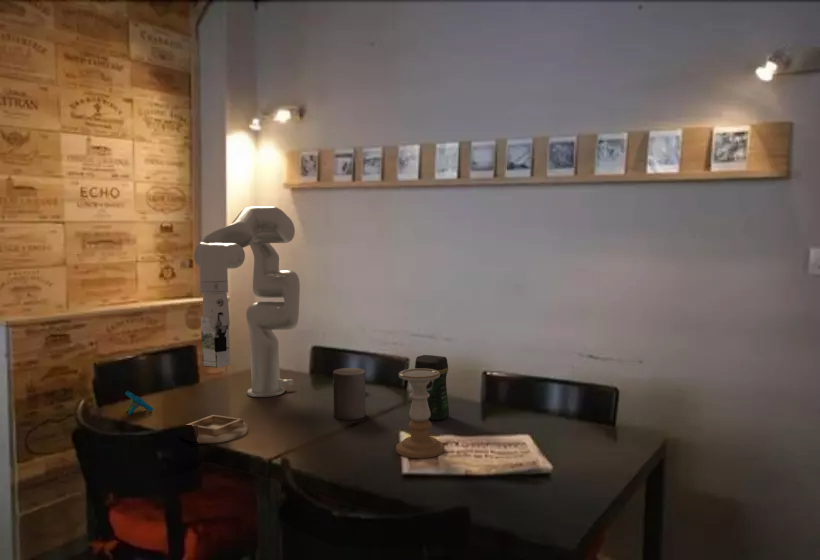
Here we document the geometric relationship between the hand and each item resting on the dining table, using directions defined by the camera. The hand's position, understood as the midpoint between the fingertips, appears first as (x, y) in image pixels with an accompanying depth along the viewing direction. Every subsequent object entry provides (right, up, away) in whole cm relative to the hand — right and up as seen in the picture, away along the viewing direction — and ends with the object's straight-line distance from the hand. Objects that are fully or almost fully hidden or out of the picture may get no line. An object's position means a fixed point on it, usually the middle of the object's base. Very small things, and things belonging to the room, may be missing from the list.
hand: (215, 349), depth 196 cm
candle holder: (+58, -24, -21) cm, 66 cm away
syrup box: (0, -5, 0) cm, 5 cm away
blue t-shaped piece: (-29, -22, +19) cm, 41 cm away
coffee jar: (+62, -21, +9) cm, 66 cm away
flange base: (+1, -23, -3) cm, 23 cm away
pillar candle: (+37, -22, +12) cm, 45 cm away
